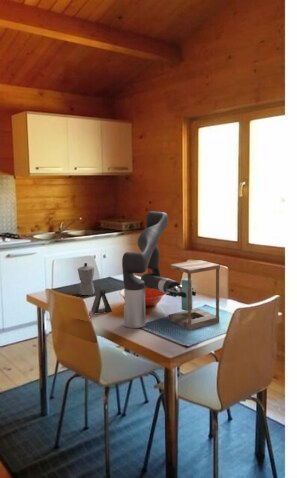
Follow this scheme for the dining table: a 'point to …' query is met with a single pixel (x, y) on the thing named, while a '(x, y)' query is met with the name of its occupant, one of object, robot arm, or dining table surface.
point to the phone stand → (97, 302)
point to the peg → (185, 289)
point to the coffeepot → (86, 280)
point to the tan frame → (185, 316)
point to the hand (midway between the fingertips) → (190, 294)
